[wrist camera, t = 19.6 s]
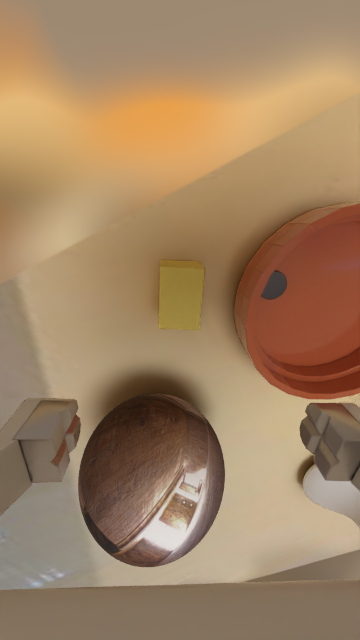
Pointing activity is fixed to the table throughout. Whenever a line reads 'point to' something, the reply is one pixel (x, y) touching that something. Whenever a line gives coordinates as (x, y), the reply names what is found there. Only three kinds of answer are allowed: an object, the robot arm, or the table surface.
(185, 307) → the sponge
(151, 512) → the wooden sphere
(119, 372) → the table surface
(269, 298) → the dark grey flat disc
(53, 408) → the robot arm
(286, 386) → the bowl
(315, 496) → the flower in vase
